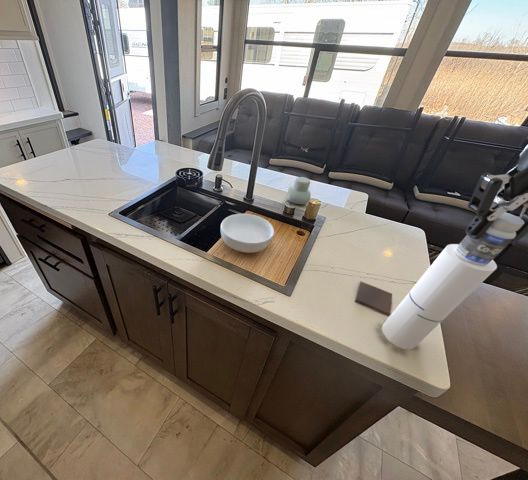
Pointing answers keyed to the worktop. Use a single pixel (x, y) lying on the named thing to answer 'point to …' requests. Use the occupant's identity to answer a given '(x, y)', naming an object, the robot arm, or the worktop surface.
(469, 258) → the pill bottle
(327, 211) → the worktop surface
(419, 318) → the cylindrical container
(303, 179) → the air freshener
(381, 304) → the plate
